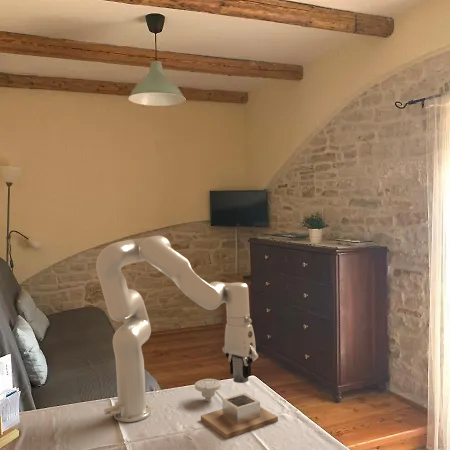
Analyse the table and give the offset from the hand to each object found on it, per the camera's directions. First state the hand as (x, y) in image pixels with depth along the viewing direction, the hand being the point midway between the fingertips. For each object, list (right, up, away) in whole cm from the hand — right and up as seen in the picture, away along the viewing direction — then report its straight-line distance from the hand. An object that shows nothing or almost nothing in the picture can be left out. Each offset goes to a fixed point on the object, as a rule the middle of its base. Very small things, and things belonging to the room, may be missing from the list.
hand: (240, 374), depth 160 cm
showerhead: (-11, -15, +17) cm, 25 cm away
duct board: (-1, -15, 0) cm, 15 cm away
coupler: (0, -2, 0) cm, 2 cm away
